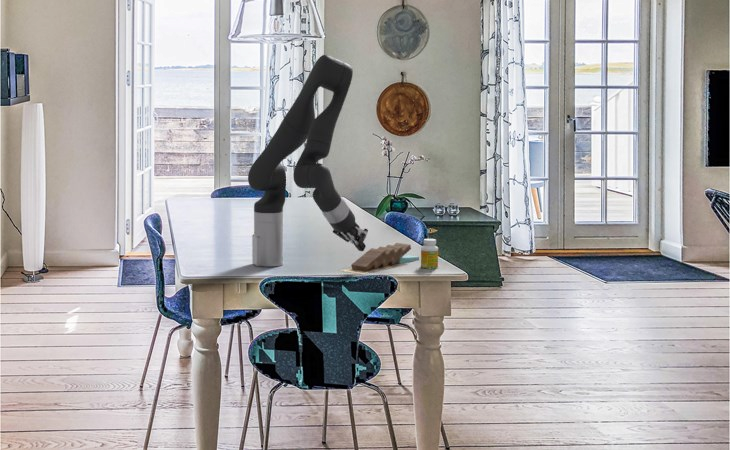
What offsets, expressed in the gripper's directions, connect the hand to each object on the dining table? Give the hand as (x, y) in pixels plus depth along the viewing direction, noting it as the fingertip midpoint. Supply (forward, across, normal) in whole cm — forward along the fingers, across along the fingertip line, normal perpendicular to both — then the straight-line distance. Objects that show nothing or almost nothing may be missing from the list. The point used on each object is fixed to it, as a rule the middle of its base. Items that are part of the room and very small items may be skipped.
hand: (362, 248), depth 263 cm
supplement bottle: (+18, -13, -7) cm, 23 cm away
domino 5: (+15, 0, -7) cm, 17 cm away
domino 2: (+6, 0, +2) cm, 6 cm away
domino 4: (+12, 0, -4) cm, 13 cm away
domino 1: (+3, 0, +5) cm, 6 cm away
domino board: (+10, 0, +1) cm, 10 cm away
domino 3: (+9, 0, -1) cm, 9 cm away
